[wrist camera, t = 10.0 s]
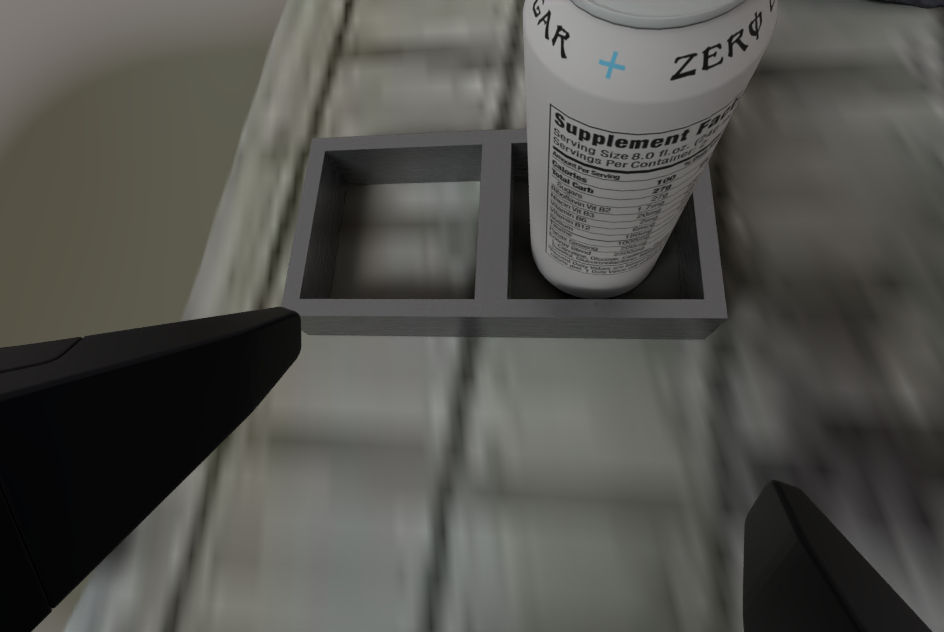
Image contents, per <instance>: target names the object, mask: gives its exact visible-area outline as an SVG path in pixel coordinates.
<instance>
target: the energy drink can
mask: <svg viewBox="0 0 944 632" xmlns="http://www.w3.org/2000/svg"><path fill="white" fill-rule="evenodd" d="M776 22H777V0H526V1H525V5H524V9H523V28H524V57H525V87H526V116H527V146H528V175H529V205H530V234H531V251H532V255H533V259H534V261H535V263H536V265H537V267H538V269H539V271H540V272H541V273H542V275H543V276H544V277H545V278H546V279H547V280H548V281H549V282H550V283H551V284H552V285H554V286H555V287H556V288H558V289H560V290H562V291H563V292H565V293H568V294H570V295H573V296H576V297H580V298H587V299H606V298H610V297H615V296H619V295H621V294H623V293H626V292H628V291H630V290H631V289H633V288H634V287H636V286H637V285H639V284H640V283H641V282H642V281H643V280H644V279H645V278H646V277H647V276H648V275H649V273H650V271H651V270H652V268H653V267H654V265H655V263H656V261H657V259H658V257H659V255H660V253H661V252H662V250H663V248H664V246H665V244H666V242H667V240H668V238H669V236H670V234H671V232H672V230H673V228H674V226H675V224H676V223H677V221H678V219H679V217H680V215H681V213H682V211H683V209H684V207H685V205H686V203H687V201H688V199H689V197H690V195H691V194H692V192H693V190H694V188H695V186H696V184H697V182H698V180H699V178H700V176H701V174H702V172H703V170H704V168H705V167H706V165H707V163H708V161H709V159H710V157H711V155H712V153H713V151H714V149H715V147H716V145H717V143H718V141H719V139H720V138H721V136H722V134H723V132H724V130H725V128H726V126H727V124H728V122H729V120H730V118H731V116H732V114H733V112H734V110H735V109H736V107H737V105H738V103H739V101H740V99H741V97H742V95H743V93H744V91H745V89H746V87H747V85H748V83H749V81H750V80H751V78H752V76H753V74H754V72H755V70H756V68H757V66H758V64H759V62H760V60H761V58H762V56H763V54H764V52H765V51H766V49H767V47H768V45H769V43H770V41H771V38H772V35H773V32H774V29H775V26H776Z"/></svg>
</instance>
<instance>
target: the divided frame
mask: <svg viewBox="0 0 944 632" xmlns="http://www.w3.org/2000/svg"><path fill="white" fill-rule="evenodd" d="M520 179H529V175H528V146H527V129H509V130H487V131H465V132H442V133H420V134H398V135H376V136H354V137H332V138H312V143H311V148H310V154H309V159H308V165H307V170H306V176H305V181H304V186H303V192H302V197H301V203H300V208H299V214H298V219H297V224H296V230H295V235H294V241H293V246H292V251H291V257H290V262H289V268H288V273H287V279H286V284H285V289H284V295H283V300H282V306H281V307H284V308H287V309H290V310H293V311H295V312H297V313H298V314H299V315H300V317H301V330H302V331H304V332H305V333H307V334H308V335H363V336H449V337H535V338H622V339H705V338H706V337H707V336H709V335H710V334H711V333H712V332H713V331H714V330H715V329H716V328H717V327H719V326H720V325H721V324H722V323H723V322H724V321H725V320H726V319H727V318H728V316H727V308H726V300H725V292H724V284H723V276H722V268H721V260H720V252H719V243H718V235H717V227H716V219H715V211H714V203H713V195H712V187H711V178H710V170H709V162H708V163H707V165H706V167H705V168H704V170H703V172H702V174H701V176H700V178H699V180H698V182H697V184H696V186H695V188H694V190H693V192H692V194H691V195H690V197H689V199H688V201H687V203H686V205H685V207H684V209H683V211H682V213H681V215H680V217H679V219H678V221H677V223H676V224H675V230H676V241H677V252H678V262H679V273H680V284H681V295H682V299H511V291H512V252H513V213H514V180H520ZM456 181H481V182H480V202H479V221H478V241H477V260H476V280H475V299H329V297H330V290H331V284H332V277H333V271H334V264H335V258H336V251H337V244H338V238H339V231H340V225H341V218H342V212H343V205H344V198H345V192H346V185H360V184H392V183H424V182H456Z"/></svg>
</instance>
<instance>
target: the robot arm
mask: <svg viewBox="0 0 944 632" xmlns="http://www.w3.org/2000/svg"><path fill="white" fill-rule="evenodd" d="M300 350H301V317H300V315H299V314H298V313H297V312H295V311H293V310H290V309H287V308H284V307H274V308H268V309H261V310H254V311H248V312H241V313H234V314H228V315H221V316H215V317H208V318H201V319H195V320H188V321H182V322H175V323H169V324H162V325H156V326H149V327H142V328H135V329H129V330H123V331H116V332H109V333H103V334H96V335H90V336H85V337H84V338H81V337H75V338H69V339H62V340H56V341H48V342H42V343H35V344H27V345H20V346H12V347H3V348H0V632H31V631H32V630H33V629H35V627H36V626H38V624H40V623H41V622H42V621H43V620H44V619H45V618H46V617H47V616H48V615H49V614H50V613H51V611H52V608H55V607H56V606H57V605H58V604H59V603H60V602H61V601H62V600H63V599H64V598H65V597H66V596H67V595H68V594H69V593H70V592H71V591H72V590H73V589H74V588H75V587H76V586H78V585H79V584H80V583H81V581H83V580H84V579H85V578H86V577H87V576H88V575H89V574H90V573H91V572H92V571H93V570H94V569H95V568H96V567H97V566H98V565H99V564H100V563H101V562H102V561H103V560H104V559H105V558H106V557H107V556H108V555H109V554H110V553H111V552H112V551H113V550H114V549H115V548H116V547H117V546H118V545H119V544H120V543H121V542H122V541H123V540H124V539H125V538H126V537H127V536H128V535H129V534H130V533H131V532H132V531H133V530H134V529H135V528H136V527H137V526H138V525H139V524H140V523H141V522H142V521H143V520H144V519H145V518H146V517H147V516H148V515H149V514H150V513H151V512H152V511H153V510H154V509H155V508H156V507H157V506H158V505H159V504H160V503H161V502H162V501H163V500H164V499H165V498H166V497H167V496H168V495H169V494H170V493H171V492H172V491H173V490H174V489H175V488H176V487H177V486H178V485H180V484H181V483H182V482H183V481H184V480H185V479H186V478H187V477H188V476H189V475H190V474H191V473H192V472H193V471H194V470H195V469H196V468H197V467H198V466H199V465H200V464H201V463H202V462H203V461H204V460H205V459H206V458H207V457H208V456H209V455H210V454H211V453H212V452H213V451H214V450H215V449H216V448H217V447H218V446H219V445H220V444H221V443H222V442H223V441H224V440H225V439H226V438H227V437H228V436H229V435H230V434H231V433H232V432H233V431H234V430H235V429H236V428H237V427H238V426H239V425H240V424H241V423H242V422H243V421H244V420H245V419H246V418H247V417H248V416H249V415H250V414H251V413H252V412H253V411H254V409H255V408H256V407H257V406H258V405H259V404H260V403H261V401H262V400H263V399H264V398H265V397H266V395H267V394H268V393H269V392H270V390H271V389H272V388H273V387H274V386H275V384H276V383H277V382H278V381H279V380H280V378H281V377H282V376H283V375H284V373H285V372H286V371H287V370H288V369H289V367H290V366H291V365H292V364H293V362H294V361H295V360H296V359H297V357H298V355H299V353H300ZM743 625H744V632H932V631H931V630H930V629H929V628H928V626H927V625H926V624H925V623H924V622H923V621H922V620H921V619H920V618H919V617H918V616H917V615H916V613H915V612H914V611H913V610H912V609H911V608H910V607H909V606H908V605H907V604H906V603H905V602H904V600H903V599H902V598H901V597H900V596H899V595H898V594H897V593H896V592H895V591H894V590H893V589H892V587H891V586H890V585H889V584H888V583H887V582H886V581H885V580H884V579H883V578H882V577H881V576H880V574H879V573H878V572H877V571H876V570H875V569H874V568H873V567H872V566H871V565H870V564H869V563H868V561H867V560H866V559H865V558H864V557H863V556H862V555H861V554H860V553H859V552H858V551H857V550H856V548H855V547H854V546H853V545H852V544H851V543H850V542H849V541H848V540H847V539H846V538H845V537H844V535H843V534H842V533H841V532H840V531H839V530H838V529H837V528H836V527H835V526H834V525H833V524H832V523H831V521H830V520H829V519H828V518H827V517H826V516H825V515H824V514H823V513H822V512H821V511H820V510H819V508H818V507H817V506H816V505H815V504H814V503H813V502H812V501H811V500H810V499H809V498H808V497H807V495H806V494H805V493H804V492H803V491H802V490H801V489H799V488H797V487H795V486H792V485H789V484H786V483H783V482H780V481H778V480H772V481H769V482H768V483H767V484H766V485H765V487H764V488H763V490H762V492H761V493H760V495H759V496H758V498H757V499H756V501H755V503H754V504H753V506H752V507H751V509H750V511H749V512H748V514H747V517H746V521H745V529H744V569H743Z"/></svg>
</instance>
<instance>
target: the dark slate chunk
mask: <svg viewBox="0 0 944 632" xmlns="http://www.w3.org/2000/svg"><path fill="white" fill-rule="evenodd" d="M882 1H893V2H897V3H905V4H911V5H915V6H918V7H924V8H932V7H935V6H944V0H882Z"/></svg>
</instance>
